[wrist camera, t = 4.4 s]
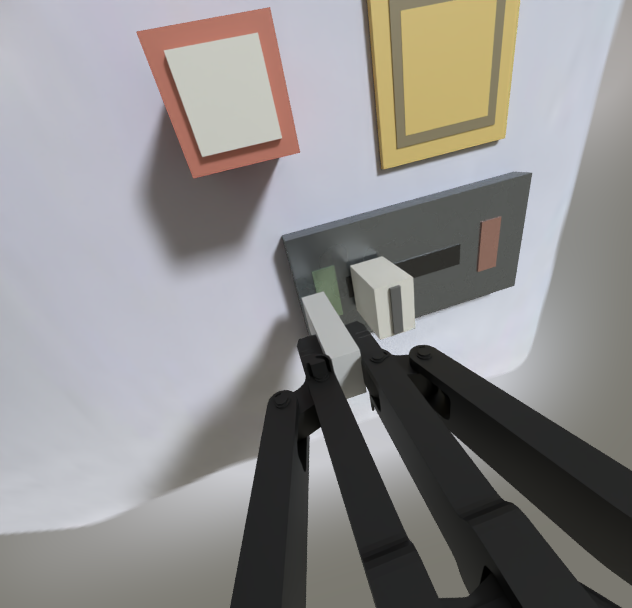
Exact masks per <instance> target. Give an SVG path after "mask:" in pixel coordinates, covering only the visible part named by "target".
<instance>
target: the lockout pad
mask: <svg viewBox="0 0 632 608" xmlns="http://www.w3.org/2000/svg"><path fill="white" fill-rule="evenodd" d="M367 6H368V18H369V30H370V42H371V54H372V66H373V78H374V90H375V102H376V114H377V126H378V138H379V150H380V162H381V169H388V168H391V167H395V166H399V165H403V164H407V163H411V162H415V161H418V160H422V159H426V158H430V157H434V156H438V155H442V154H446V153H449V152H453V151H457V150H461V149H465V148H469V147H473V146H476V145H480V144H484V143H488V142H492V141H496V140H500V139H504V138H505V135H506V126H507V116H508V107H509V98H510V89H511V80H512V71H513V61H514V52H515V43H516V34H517V25H518V16H519V6H520V0H367Z"/></svg>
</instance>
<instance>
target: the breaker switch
mask: <svg viewBox="0 0 632 608" xmlns="http://www.w3.org/2000/svg"><path fill="white" fill-rule="evenodd" d="M350 270H351V277H352V283H353V289H354V296H355V302H356V308H357V311H358V312H359V314H360V315H361V316H362V317H363V319H364V320H365V321H366V323H367V324H368V325H369V326H370V328H371V329H372V330H373V332H374V333H375V334H376V335H377V337H378V338H379V339H380V340H381V339H384V338H387V337H391V336H394V335H397V334H400V333H403V332H406V331H409V330H412V329H415V309H414V283H413V277H412V276H411V275H409V274H408V273H406V272H405V271H403V270H402V269H400V268H399V267H397V266H396V265H395V264H393V263H392V262H390V261H389V260H387V259H386V258H384V257H383V256H381V257H378V258H375V259H371V260H368V261H364V262H361V263H358V264H354V265H351V266H350Z"/></svg>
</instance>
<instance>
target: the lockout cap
mask: <svg viewBox="0 0 632 608" xmlns="http://www.w3.org/2000/svg"><path fill="white" fill-rule="evenodd" d="M137 35H138V38H139V40H140V43H141V45H142V48H143V50H144V53H145V56H146V58H147V61H148V63H149V66H150V68H151V71H152V74H153V76H154V79H155V81H156V84H157V86H158V89H159V91H160V94H161V97H162V99H163V102H164V104H165V107H166V109H167V112H168V115H169V117H170V120H171V122H172V125H173V127H174V130H175V133H176V135H177V138H178V140H179V143H180V145H181V148H182V151H183V153H184V156H185V158H186V161H187V163H188V166H189V169H190V171H191V174H192V176H193V178H198V177H202V176H206V175H210V174H214V173H218V172H222V171H226V170H230V169H235V168H239V167H243V166H247V165H251V164H255V163H259V162H263V161H267V160H271V159H276V158H280V157H284V156H288V155H292V154H296V153H300V149H299V145H298V140H297V135H296V130H295V125H294V121H293V116H292V111H291V106H290V101H289V96H288V92H287V87H286V82H285V77H284V72H283V68H282V63H281V58H280V53H279V48H278V43H277V39H276V34H275V29H274V24H273V19H272V15H271V10H270V7H269V8H263V9H258V10H252V11H247V12H242V13H236V14H231V15H225V16H220V17H214V18H209V19H203V20H198V21H192V22H187V23H181V24H176V25H170V26H165V27H159V28H154V29H148V30H143V31H137Z"/></svg>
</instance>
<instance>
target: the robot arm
mask: <svg viewBox="0 0 632 608" xmlns="http://www.w3.org/2000/svg"><path fill="white" fill-rule="evenodd" d="M302 302H303V306H304V310H305V314H306V318H307V321H308V325H309V329H310V333H311V335H312V336H309V337H305V338H302V339H299V340H298V344H297V348H298V352H299V355H300V358H301V362H302V365H303V368H304V372H305V375H306V379H305V382H304V384H303V385H302V386H301V387H300V388H299V389H298V390H296V391H295V392H292V391H289V390H283V391H279V392H277V393H276V394H274V395H273V396H272V397H271V398H270V399H269V402H268V405H267V410H266V415H265V421H264V426H263V432H262V437H261V443H260V448H259V453H258V459H257V464H256V470H255V475H254V481H253V486H252V492H251V497H250V503H249V508H248V514H247V519H246V524H245V530H244V535H243V541H242V546H241V552H240V557H239V562H238V568H237V573H236V578H235V584H234V589H233V594H232V600H231V606H230V608H306V572H307V526H308V483H309V440H310V437H309V435H310V434H312V433H313V432H314V431H316V430H317V429H319V428H320V427H321V428H322V432H323V435H324V438H325V442H326V445H327V448H328V451H329V455H330V458H331V461H332V464H333V468H334V471H335V474H336V478H337V481H338V484H339V488H340V491H341V494H342V498H343V501H344V504H345V507H346V511H347V514H348V517H349V521H350V524H351V527H352V530H353V534H354V537H355V540H356V543H357V547H358V550H359V554H360V557H361V560H362V563H363V567H364V570H365V573H366V577H367V580H368V583H369V587H370V590H371V593H372V596H373V600H374V603H375V607H376V608H621V607H620V606H618V605H616V604H615V603H613V602H612V601H610V600H608V599H607V598H605V597H603V596H602V595H600V594H598V593H597V592H595V591H594V590H592V589H590V588H589V587H587V586H585V585H584V584H582V583H580V582H578V581H577V579H576V578H575V577H574V576H573V574H572V573H571V572H570V571H569V569H568V568H567V567H566V566H565V564H564V563H563V562H562V561H561V559H560V558H559V557H558V556H557V554H556V553H555V552H554V551H553V549H552V548H551V547H550V545H549V544H548V543H547V542H546V541H545V539H544V538H543V537H542V535H541V534H540V533H539V532H538V530H537V529H536V528H535V527H534V525H533V524H532V523H531V522H530V520H529V519H528V518H527V517H526V515H525V514H524V513H523V512H522V511H521V510H520V509H519V508H518V507H517V506H516V505H514V504H513V503H511V502H507V501H504V500H503V499H502V498H501V497H500V496H499V495H498V494H497V492H496V491H495V490H494V488H493V487H492V486H491V485H490V483H489V482H488V481H487V479H486V478H485V477H484V475H483V474H482V473H481V471H480V470H479V469H478V467H477V466H476V465H475V464H474V462H473V461H472V460H471V458H470V457H469V456H468V455H467V453H466V452H465V450H464V449H463V448H462V446H461V445H460V444H459V442H458V441H457V440H456V439H455V437H454V436H453V435H452V433H453V434H454V435H455V436H456V437H457V438H458V439H460V440H461V441H462V442H463V443H464V444H465V445H467V446H468V447H469V448H470V449H471V450H472V451H473V452H474V453H476V454H477V455H478V456H479V457H480V458H481V459H483V461H485V462H486V463H487V464H488V465H489V466H490V467H491V468H493V469H494V470H495V471H496V472H497V473H498V474H499V475H501V476H502V477H503V478H504V479H505V480H506V481H507V482H509V483H510V484H511V485H512V486H513V487H514V488H515V489H517V490H518V491H519V492H520V493H521V494H522V495H523V496H525V497H526V498H527V499H528V500H529V501H530V502H531V503H533V504H534V505H535V506H536V507H537V508H538V509H539V510H541V511H542V512H543V513H544V514H545V515H546V516H548V518H550V519H551V520H552V521H553V522H554V523H555V524H557V525H558V526H559V527H560V528H561V529H562V530H563V531H564V532H566V533H567V534H568V535H569V536H570V537H571V538H572V539H574V540H575V541H576V542H577V543H578V544H579V545H580V546H582V547H583V548H584V549H585V550H586V551H587V552H589V553H590V554H591V555H592V556H594V557H595V558H596V559H597V560H598V561H600V562H601V563H602V564H603V565H604V566H606V567H607V568H608V569H610V570H611V571H612V572H614V573H615V574H617V575H618V576H619V577H621V578H622V579H623V580H625V581H626V582H627V583H629V584H630V585H632V471H631V470H630V469H628V468H626V467H625V466H623V465H621V464H620V463H618V462H617V461H615V460H613V459H612V458H610V457H609V456H607V455H605V454H604V453H602V452H601V451H599V450H597V449H596V448H594V447H593V446H591V445H589V444H588V443H586V442H585V441H583V440H581V439H580V438H578V437H577V436H575V435H573V434H572V433H570V432H569V431H567V430H565V429H564V428H562V427H561V426H559V425H557V424H556V423H554V422H552V421H551V420H549V419H548V418H546V417H544V416H543V415H541V414H540V413H538V412H537V411H535V410H533V409H532V408H530V407H528V406H527V405H525V404H524V403H522V402H521V401H519V400H517V399H516V398H514V397H512V396H511V395H509V394H508V393H506V392H504V391H503V390H501V389H500V388H498V387H496V386H495V385H493V384H492V383H490V382H488V381H487V380H485V379H484V378H482V377H480V376H479V375H477V374H476V373H474V372H472V371H471V370H469V369H468V368H466V367H464V366H463V365H461V364H460V363H458V362H456V361H455V360H453V359H452V358H450V357H448V356H447V355H445V354H444V353H442V352H440V351H439V350H437V349H436V348H434V347H431V346H428V345H418V346H415V347H413V348H412V349H411V350H410V352H409V355H391V353H389V352H388V351H386V350H384V349H382V348H381V347H380V346H379V344H378V343H377V342H376V340H375V339H374V338H373V336H372V335H371V334H370V332H369V331H368V330H367V328H366V327H365V325H364V324H362V323H360V322H358V321H355V322H352V323H349V324H346V325H344V324H343V322H342V320H341V319H340V317H339V316H338V314H337V312H336V311H335V309H334V308H333V306H332V304H331V303H330V301H329V300H328V298H327V296H326V295H325V293H324V291H323V292H320V293H316V294H313V295H309V296H306V297H302ZM366 387H367V389H368V391H369V394H370V401H371V407H372V411H374V407H375V409H376V411H377V413H378V415H379V417H380V418H381V420H382V422H383V424H384V426H385V428H386V429H387V432H388V433H389V435H390V437H391V439H392V441H393V443H394V445H395V447H396V448H397V450H398V452H399V454H400V455H401V458H402V460H403V462H404V463H405V465H406V467H407V469H408V471H409V473H410V475H411V477H412V478H413V480H414V482H415V484H416V486H417V488H418V490H419V491H420V493H421V495H422V497H423V499H424V501H425V503H426V505H427V507H428V508H429V510H430V512H431V514H432V516H433V518H434V520H435V521H436V523H437V525H438V527H439V529H440V531H441V533H442V535H443V536H444V538H445V540H446V542H447V544H448V546H449V548H450V549H451V551H452V554H453V556H454V558H455V560H456V562H457V565H458V569H459V572H460V574H461V577H462V579H463V582H464V584H465V586H466V588H467V590H468V592H469V594H470V595H469V596H468V597H463V598H438V596H437V593H436V591H435V589H434V587H433V585H432V582H431V580H430V578H429V576H428V573H427V571H426V569H425V567H424V565H423V562H422V560H421V558H420V556H419V554H418V552H417V550H416V548H415V546H414V545H413V543H412V542H411V541H410V540H409V538H408V537H407V535H406V532H405V530H404V528H403V526H402V524H401V521H400V519H399V517H398V514H397V512H396V510H395V508H394V505H393V503H392V501H391V499H390V496H389V494H388V492H387V490H386V487H385V485H384V483H383V481H382V479H381V476H380V474H379V472H378V469H377V467H376V465H375V463H374V461H373V458H372V456H371V454H370V452H369V449H368V447H367V445H366V443H365V440H364V438H363V436H362V433H361V431H360V429H359V427H358V424H357V422H356V420H355V418H354V415H353V413H352V411H351V408H350V406H349V404H348V402H347V399H348V398H351V397H354V396H357V395H360V394H363V393H366ZM451 432H452V433H451Z"/></svg>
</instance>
